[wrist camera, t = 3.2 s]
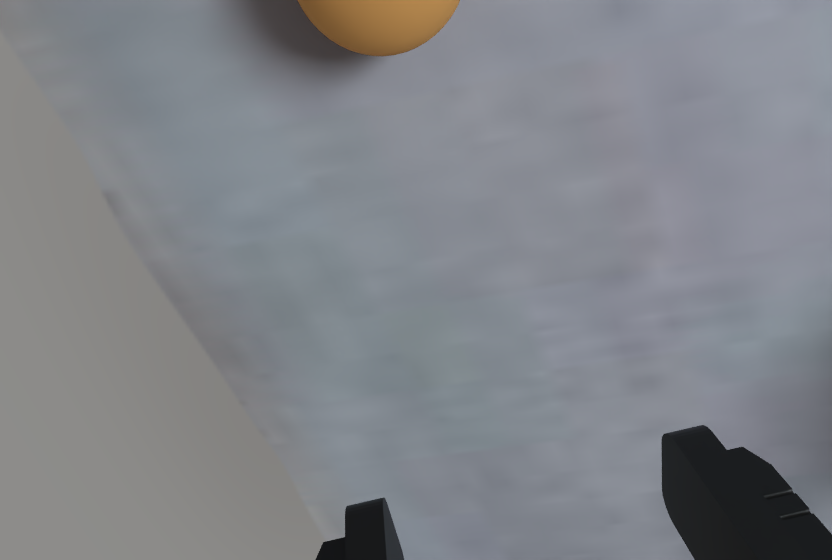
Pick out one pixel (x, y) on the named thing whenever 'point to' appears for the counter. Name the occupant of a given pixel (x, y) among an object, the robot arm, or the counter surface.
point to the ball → (379, 23)
